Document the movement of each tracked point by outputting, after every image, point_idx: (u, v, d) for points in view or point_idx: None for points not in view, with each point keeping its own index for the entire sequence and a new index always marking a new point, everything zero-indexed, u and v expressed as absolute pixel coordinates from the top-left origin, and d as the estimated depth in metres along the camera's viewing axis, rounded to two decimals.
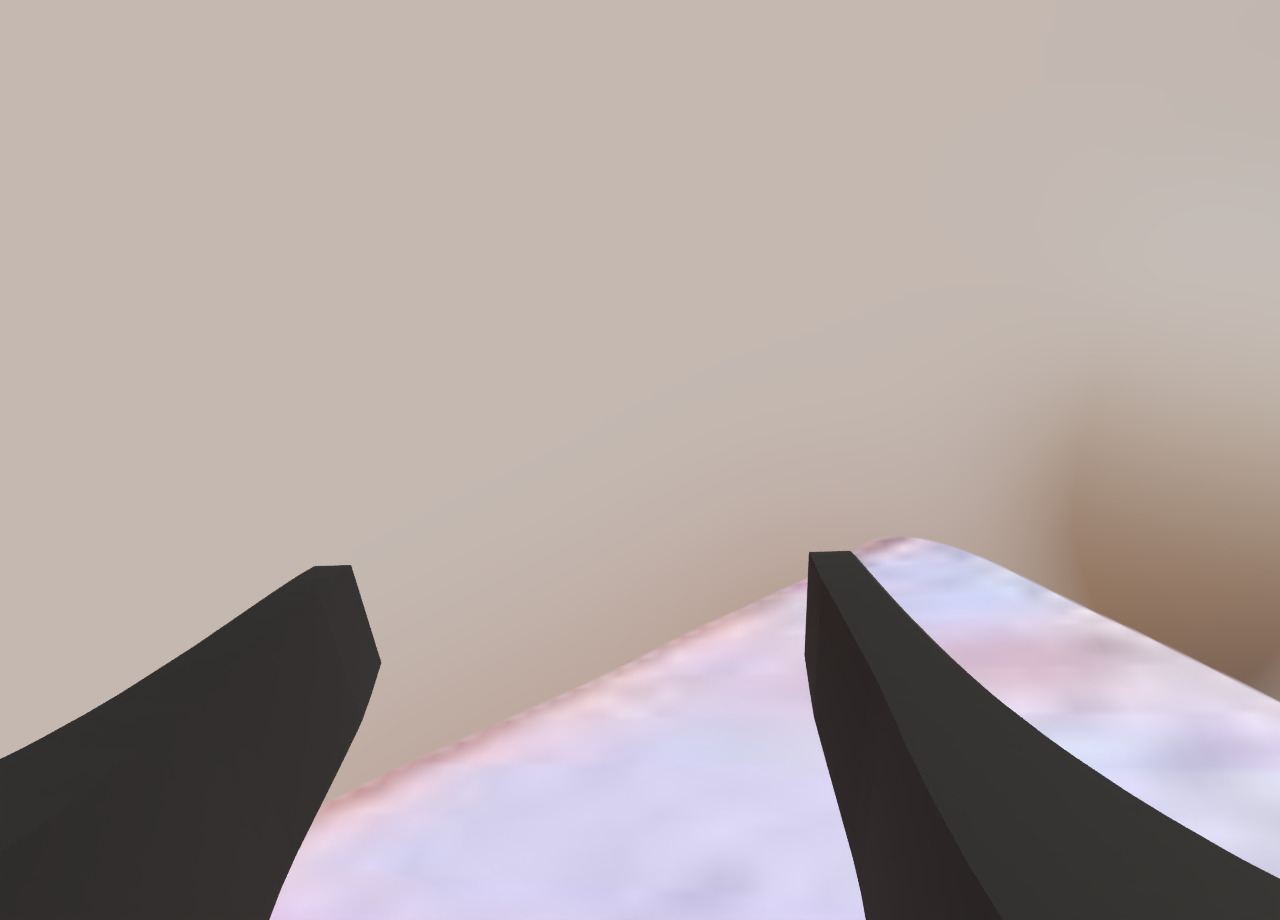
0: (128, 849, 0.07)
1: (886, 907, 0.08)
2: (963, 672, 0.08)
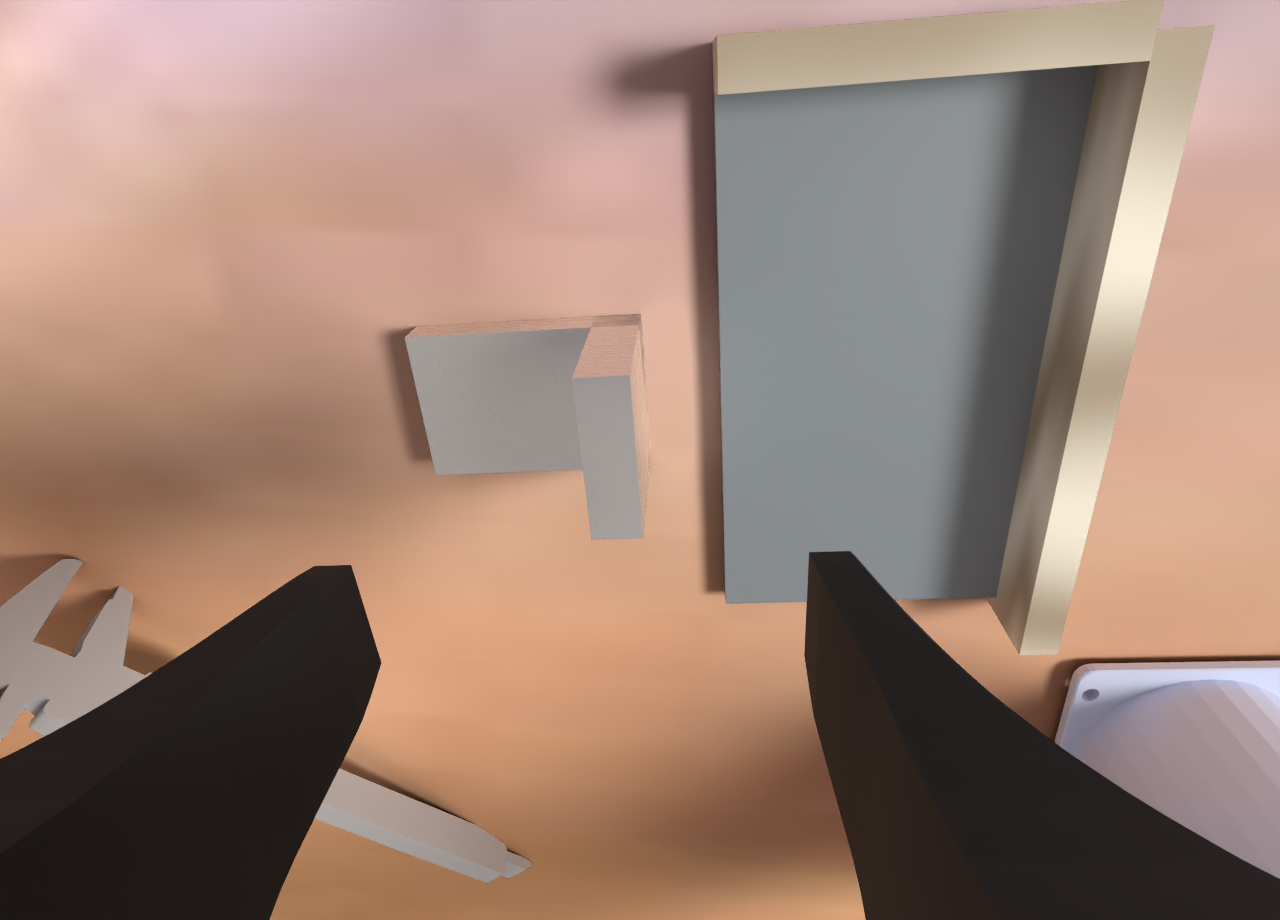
0: (127, 848, 0.07)
1: (886, 907, 0.08)
2: (963, 672, 0.08)
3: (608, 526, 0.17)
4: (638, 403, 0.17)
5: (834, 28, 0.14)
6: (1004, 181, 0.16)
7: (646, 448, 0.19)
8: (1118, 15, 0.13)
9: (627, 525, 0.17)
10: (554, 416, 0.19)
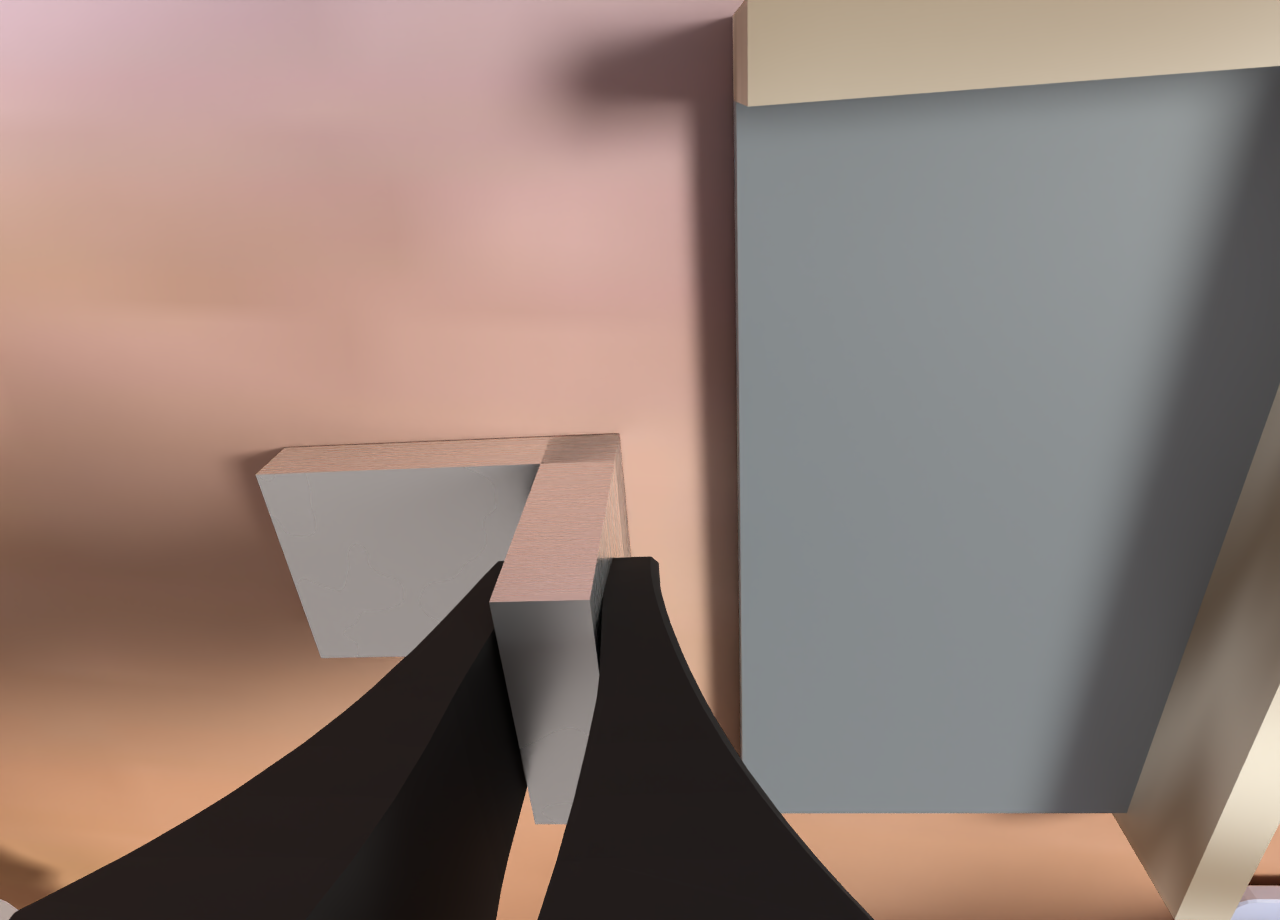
0: (422, 850, 0.07)
1: None
2: (682, 676, 0.08)
3: (561, 807, 0.10)
4: None
5: None
6: (1211, 245, 0.10)
7: None
8: None
9: None
10: None
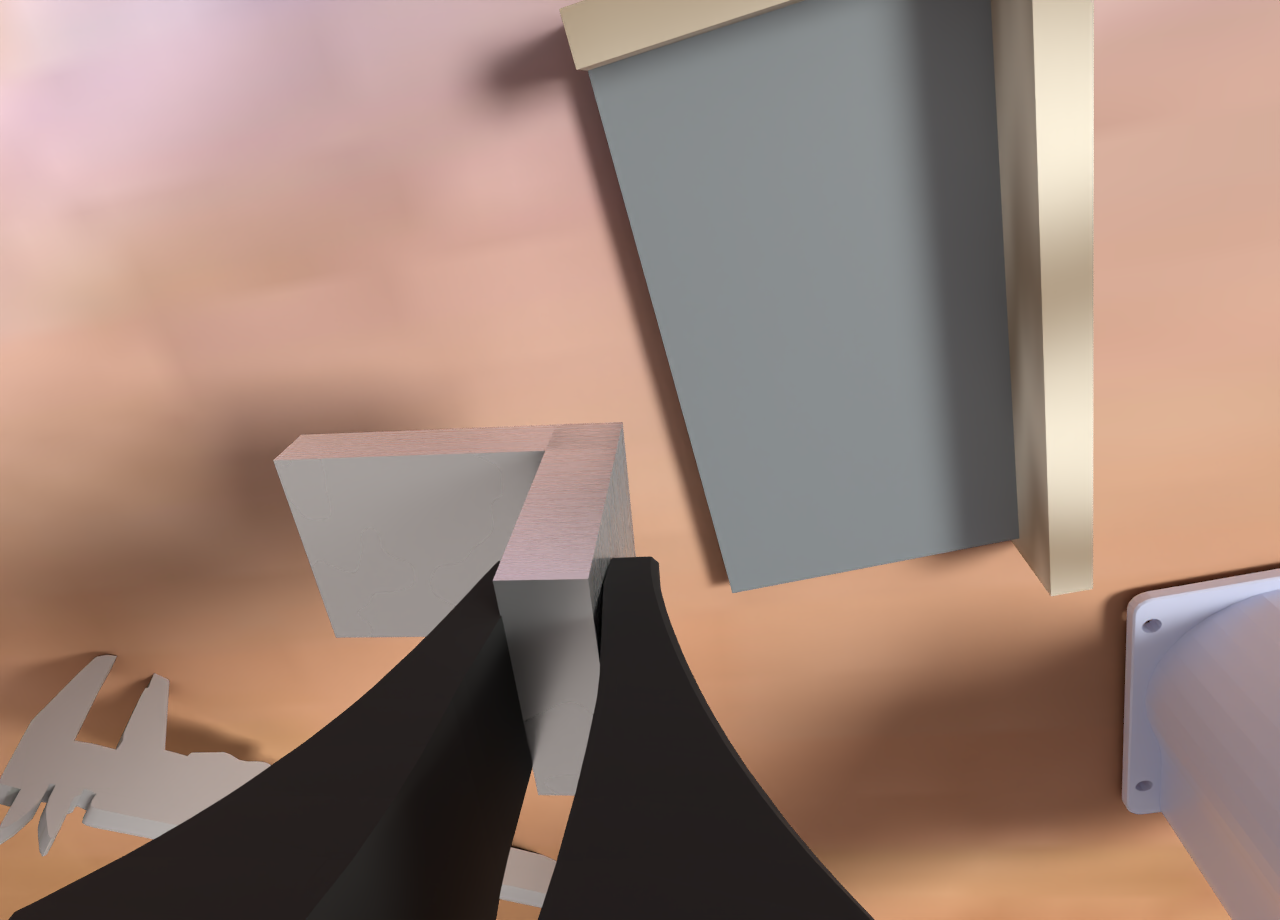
0: (423, 850, 0.07)
1: None
2: (683, 676, 0.08)
3: (563, 779, 0.11)
4: None
5: None
6: (916, 92, 0.15)
7: None
8: None
9: None
10: None
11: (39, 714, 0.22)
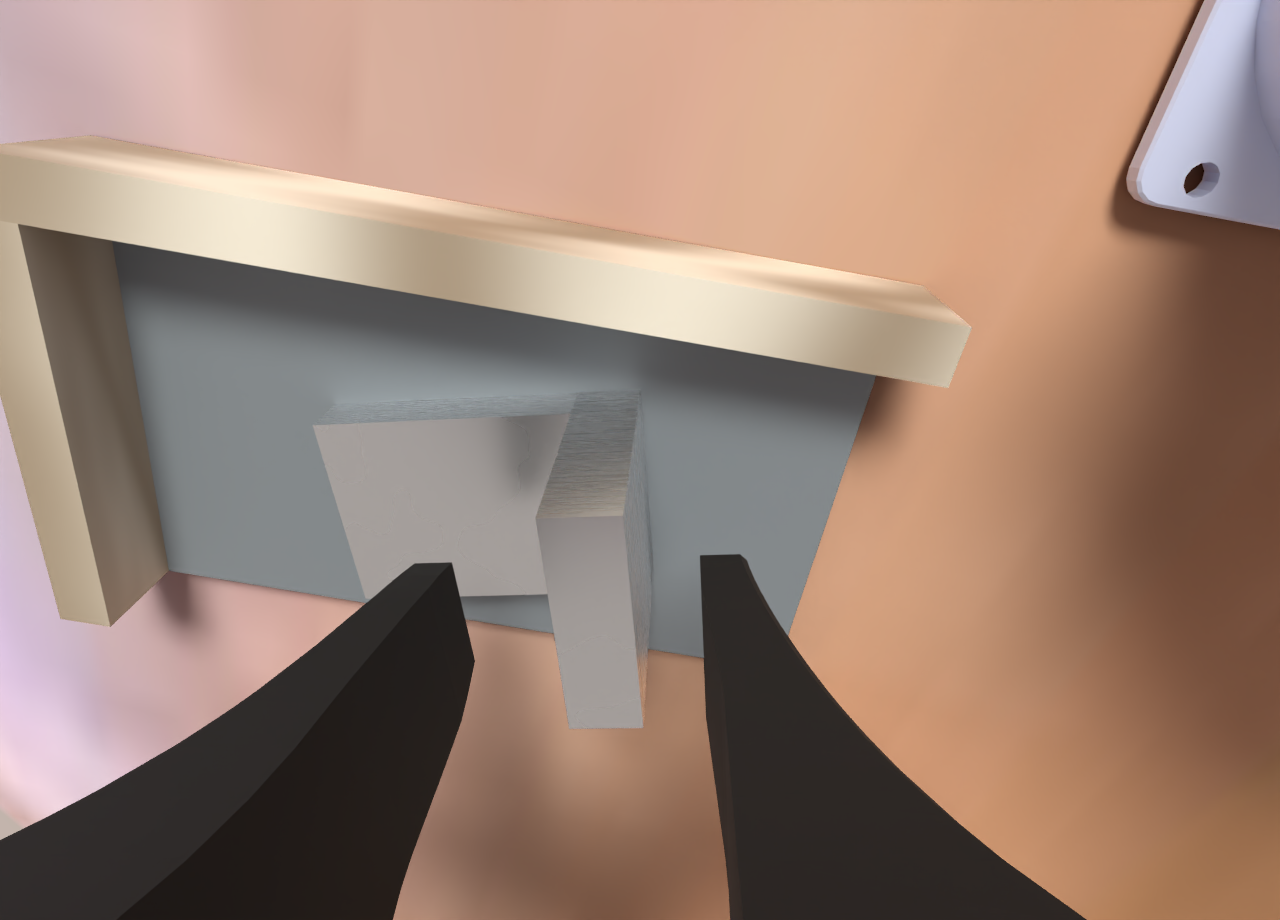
0: (287, 849, 0.07)
1: (731, 905, 0.08)
2: (808, 674, 0.08)
3: (593, 712, 0.12)
4: (636, 532, 0.12)
5: (40, 528, 0.14)
6: (241, 312, 0.14)
7: (647, 574, 0.14)
8: None
9: (620, 711, 0.12)
10: (522, 528, 0.14)
11: None
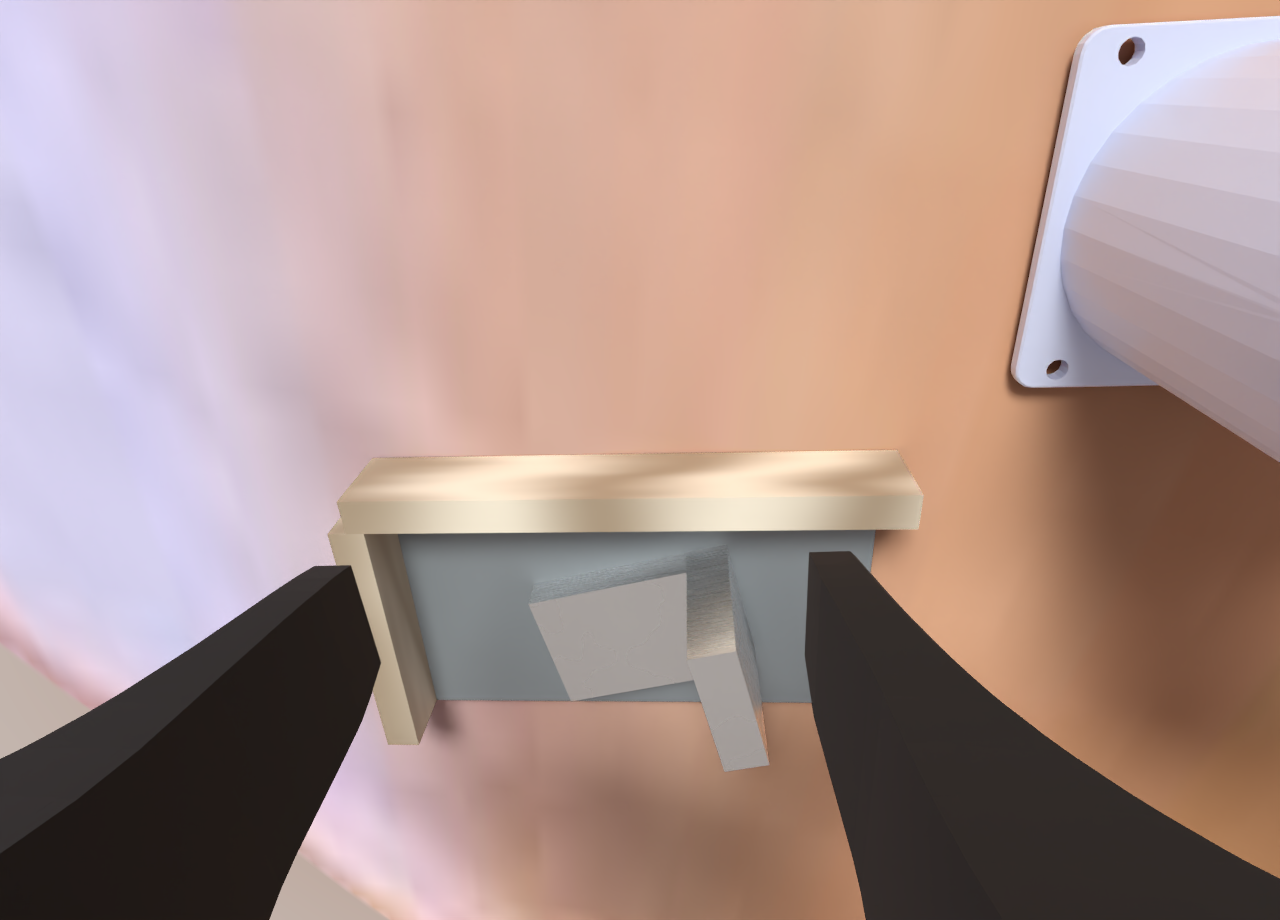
0: (127, 848, 0.07)
1: (886, 907, 0.08)
2: (963, 672, 0.08)
3: (737, 760, 0.19)
4: (743, 646, 0.19)
5: (375, 693, 0.22)
6: (472, 541, 0.22)
7: (753, 661, 0.21)
8: (342, 557, 0.20)
9: (753, 757, 0.19)
10: (666, 643, 0.22)
11: None
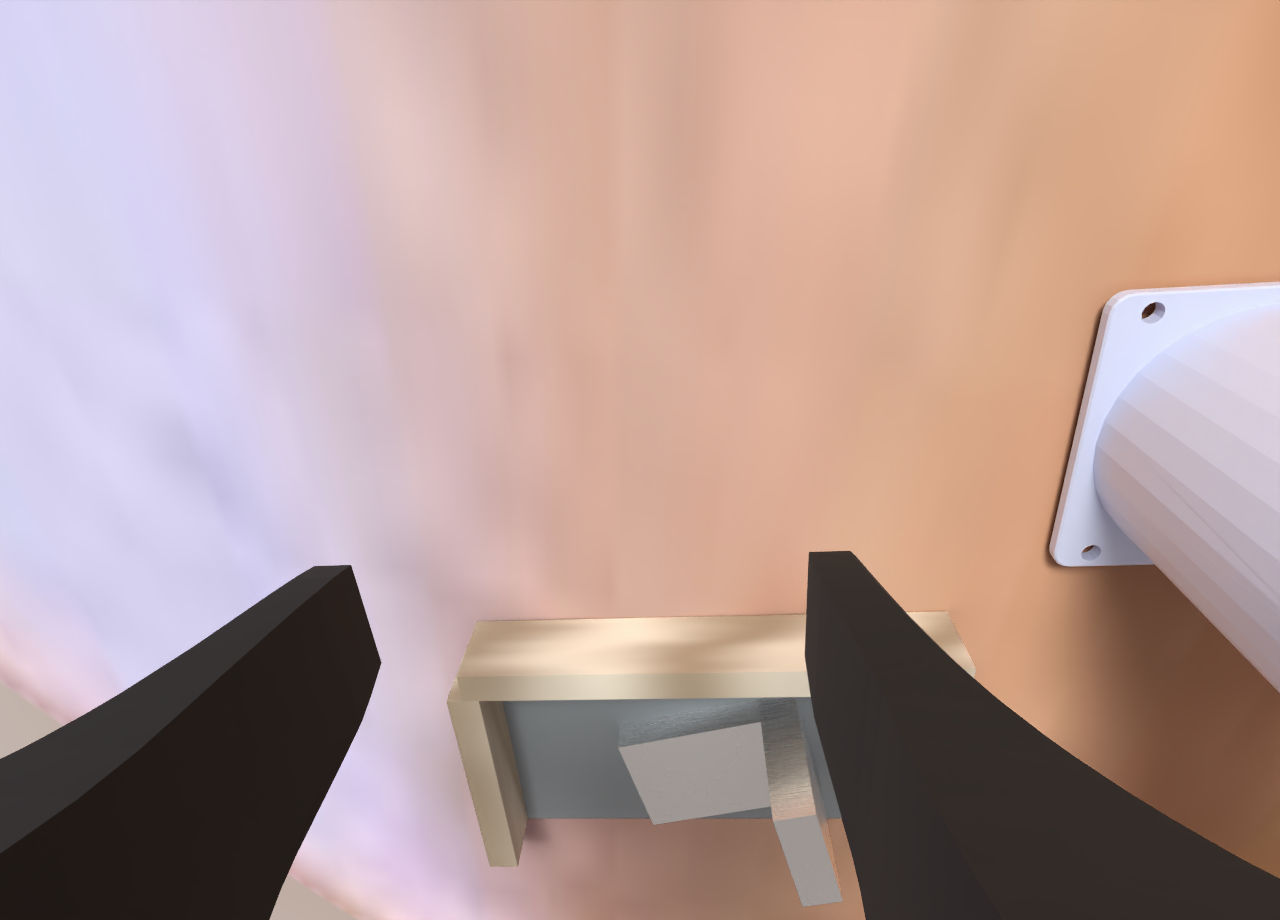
0: (127, 848, 0.07)
1: (886, 907, 0.08)
2: (963, 672, 0.08)
3: (814, 897, 0.22)
4: (816, 796, 0.22)
5: (480, 825, 0.25)
6: None
7: (820, 796, 0.24)
8: (458, 718, 0.23)
9: (829, 895, 0.21)
10: (741, 778, 0.24)
11: None
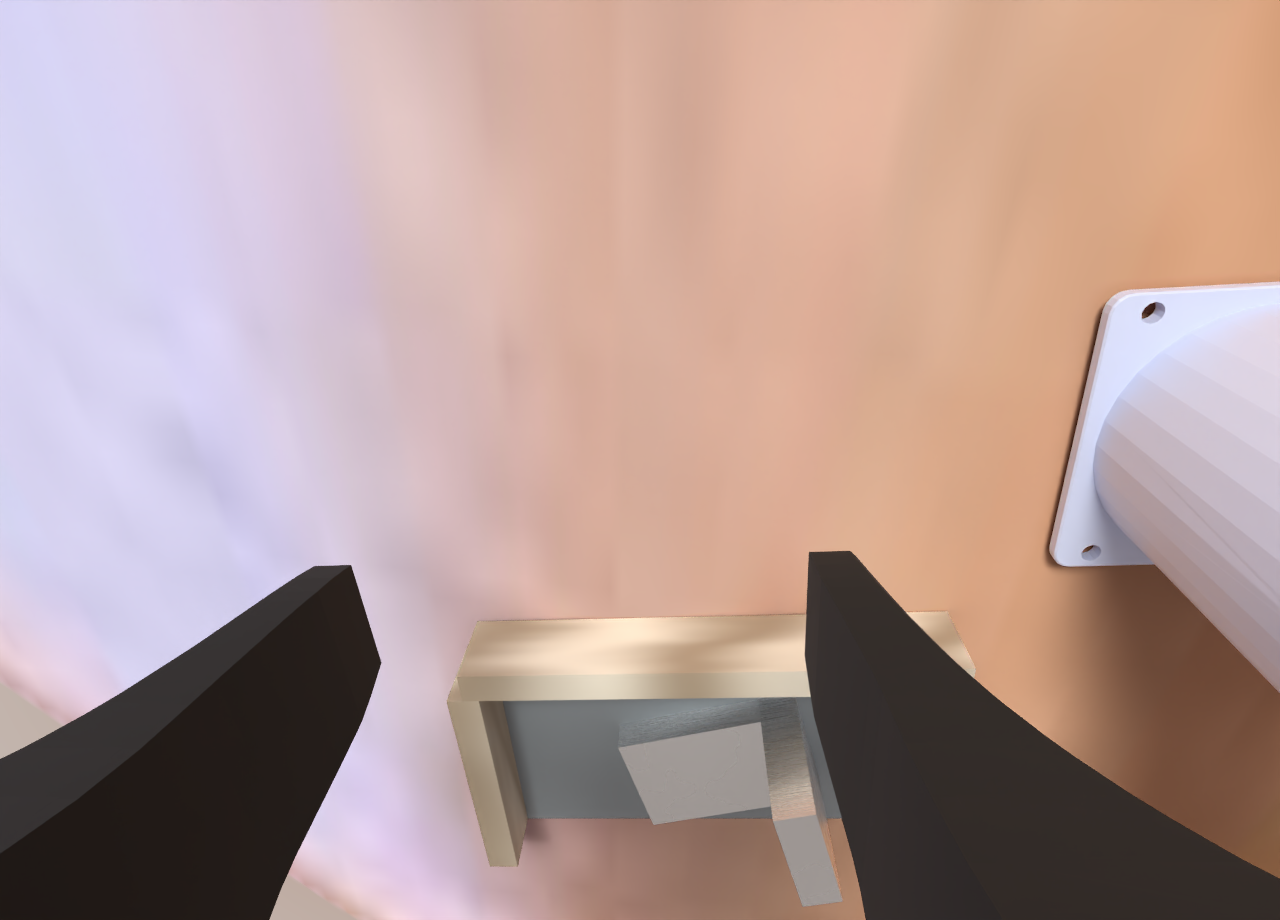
0: (127, 848, 0.07)
1: (886, 907, 0.08)
2: (963, 672, 0.08)
3: (814, 897, 0.22)
4: (816, 796, 0.22)
5: (480, 825, 0.25)
6: None
7: (820, 796, 0.24)
8: (458, 718, 0.23)
9: (829, 895, 0.21)
10: (741, 778, 0.24)
11: None
